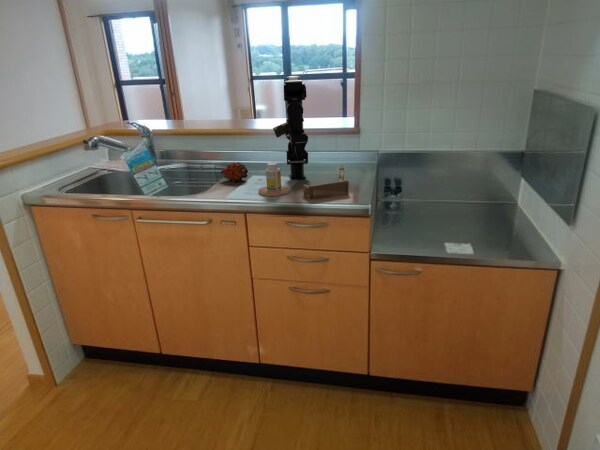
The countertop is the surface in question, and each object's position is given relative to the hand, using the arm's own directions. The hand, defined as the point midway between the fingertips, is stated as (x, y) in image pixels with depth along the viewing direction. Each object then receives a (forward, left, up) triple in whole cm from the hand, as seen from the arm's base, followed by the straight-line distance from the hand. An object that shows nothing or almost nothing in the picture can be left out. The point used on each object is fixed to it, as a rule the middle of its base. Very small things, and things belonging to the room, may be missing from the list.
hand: (296, 157), depth 160 cm
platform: (-3, +19, -13) cm, 23 cm away
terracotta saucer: (+4, -10, -12) cm, 16 cm away
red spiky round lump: (-17, -24, -12) cm, 32 cm away
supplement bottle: (+4, -10, -11) cm, 16 cm away
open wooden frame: (+13, +8, -12) cm, 20 cm away
